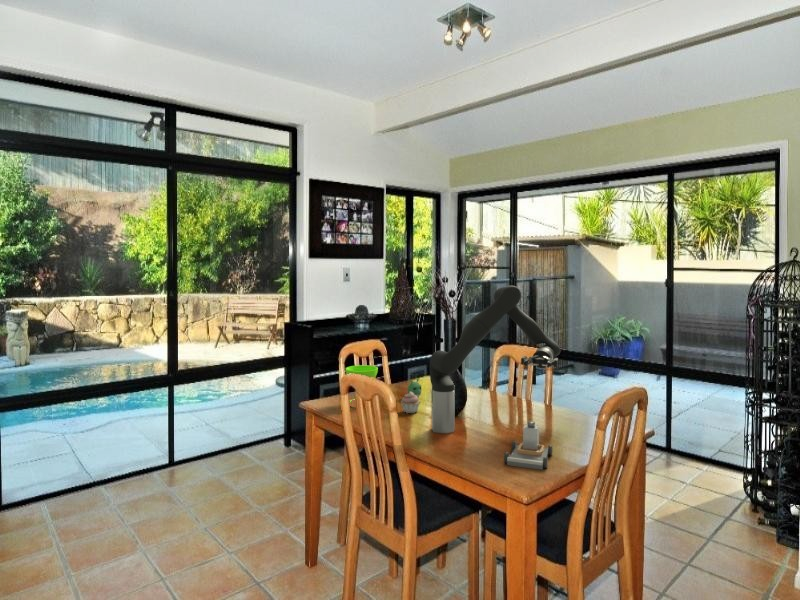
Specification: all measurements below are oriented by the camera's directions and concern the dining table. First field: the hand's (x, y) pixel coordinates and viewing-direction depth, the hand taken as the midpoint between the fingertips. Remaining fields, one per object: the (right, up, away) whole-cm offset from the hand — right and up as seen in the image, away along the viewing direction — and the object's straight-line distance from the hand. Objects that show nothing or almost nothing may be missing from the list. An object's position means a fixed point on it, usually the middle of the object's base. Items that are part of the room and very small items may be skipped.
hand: (537, 364), depth 217 cm
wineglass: (-73, -27, +58) cm, 96 cm away
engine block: (-6, -30, -15) cm, 34 cm away
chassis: (-8, -31, -19) cm, 38 cm away
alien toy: (-46, -26, +69) cm, 87 cm away
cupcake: (-49, -28, +43) cm, 70 cm away
